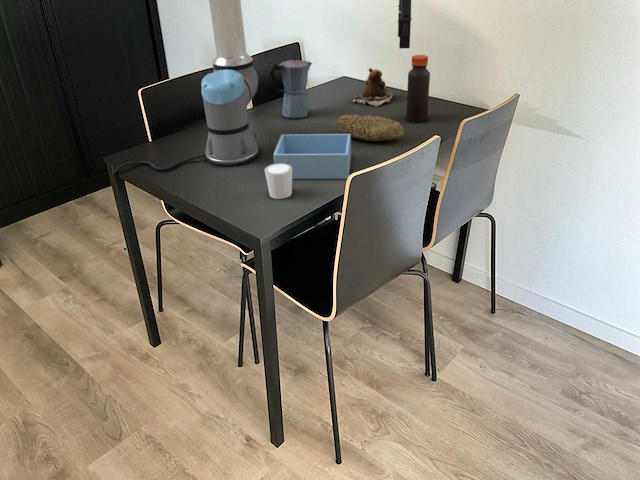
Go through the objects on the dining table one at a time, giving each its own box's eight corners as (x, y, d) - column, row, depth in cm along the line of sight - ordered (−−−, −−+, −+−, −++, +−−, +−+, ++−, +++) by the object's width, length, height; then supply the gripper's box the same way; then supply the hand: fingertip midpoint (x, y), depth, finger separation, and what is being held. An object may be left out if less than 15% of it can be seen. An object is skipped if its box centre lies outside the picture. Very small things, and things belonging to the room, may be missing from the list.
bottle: (421, 114, 185) (424, 53, 174) (431, 120, 179) (435, 57, 169) (402, 117, 183) (405, 55, 172) (412, 124, 178) (415, 60, 167)
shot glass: (262, 198, 139) (259, 172, 135) (274, 186, 144) (271, 161, 140) (287, 201, 136) (285, 175, 133) (298, 189, 142) (296, 164, 138)
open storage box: (275, 178, 148) (273, 155, 144) (283, 156, 160) (281, 134, 157) (348, 178, 146) (348, 154, 142) (351, 156, 158) (350, 133, 155)
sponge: (332, 141, 172) (380, 144, 157) (331, 115, 169) (379, 116, 155) (362, 136, 180) (409, 139, 165) (361, 112, 178) (409, 112, 163)
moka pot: (321, 113, 190) (318, 54, 179) (282, 124, 183) (277, 62, 172) (306, 106, 196) (302, 49, 186) (268, 116, 189) (262, 57, 179)
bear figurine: (401, 96, 201) (402, 62, 195) (378, 108, 192) (379, 73, 185) (370, 91, 209) (370, 58, 202) (346, 102, 199) (346, 67, 192)
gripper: (424, -39, 131) (419, 53, 143) (418, -49, 152) (414, 32, 164) (392, -38, 132) (390, 53, 143) (391, -48, 153) (389, 32, 164)
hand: (403, 42), depth 154 cm, fingers open, 13 cm apart
